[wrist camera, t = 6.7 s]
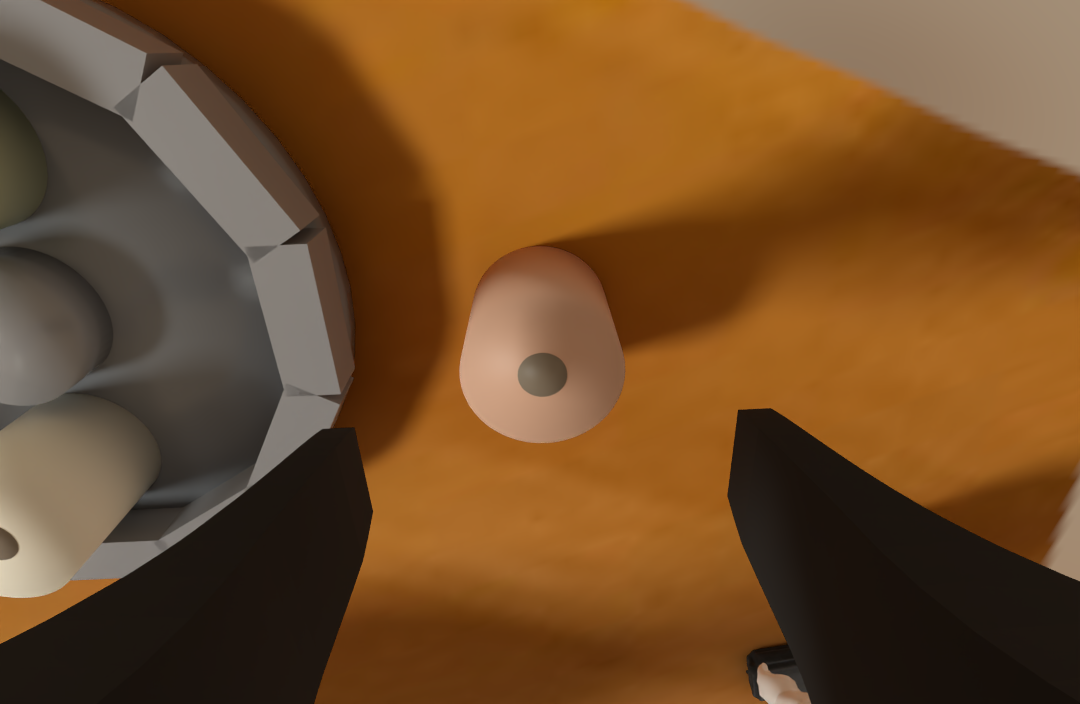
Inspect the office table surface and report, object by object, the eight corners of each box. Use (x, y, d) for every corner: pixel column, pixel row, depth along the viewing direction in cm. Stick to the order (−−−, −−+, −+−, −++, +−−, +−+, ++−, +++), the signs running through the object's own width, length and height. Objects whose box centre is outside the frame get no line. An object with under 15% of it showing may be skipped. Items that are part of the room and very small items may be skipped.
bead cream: (179, 493, 20) (102, 592, 16) (60, 502, 20) (-44, 604, 16) (131, 387, 18) (31, 473, 14) (0, 399, 18) (-132, 486, 14)
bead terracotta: (605, 365, 19) (623, 439, 15) (479, 371, 19) (467, 447, 15) (606, 242, 17) (626, 294, 14) (466, 248, 17) (450, 302, 14)
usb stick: (742, 680, 27) (754, 714, 25) (739, 641, 26) (750, 674, 24) (963, 646, 26) (988, 680, 25) (969, 604, 25) (995, 637, 23)
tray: (395, 512, 21) (379, 566, 19) (-79, 534, 22) (-149, 590, 19) (281, -60, 14) (234, -80, 12) (-454, -23, 14) (-642, -36, 12)
